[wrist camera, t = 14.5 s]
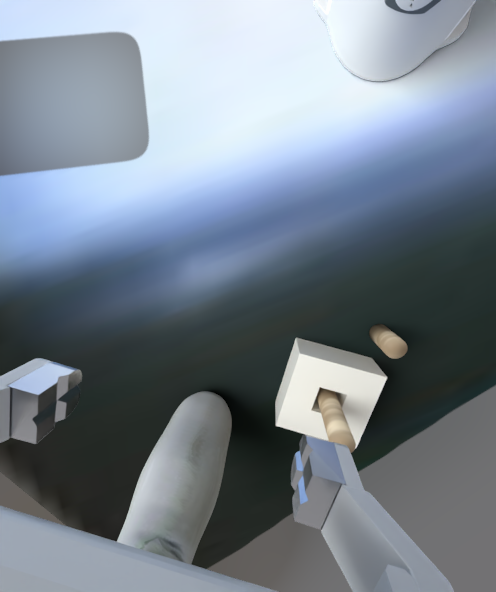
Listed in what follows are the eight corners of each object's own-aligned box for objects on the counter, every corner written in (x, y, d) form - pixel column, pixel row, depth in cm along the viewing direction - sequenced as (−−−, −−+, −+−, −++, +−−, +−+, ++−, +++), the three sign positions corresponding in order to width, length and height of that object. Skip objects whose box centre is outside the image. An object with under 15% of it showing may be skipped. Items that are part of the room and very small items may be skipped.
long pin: (315, 371, 44) (334, 431, 30) (332, 375, 44) (359, 438, 30) (310, 385, 45) (326, 451, 31) (327, 390, 45) (350, 458, 31)
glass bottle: (231, 433, 49) (178, 682, 21) (179, 420, 49) (64, 649, 22) (241, 388, 46) (195, 607, 19) (186, 375, 47) (66, 571, 20)
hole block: (296, 337, 43) (299, 353, 37) (371, 357, 42) (387, 377, 37) (275, 401, 46) (275, 425, 40) (345, 421, 46) (356, 448, 40)
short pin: (373, 322, 41) (389, 336, 35) (391, 326, 41) (410, 342, 35) (366, 338, 42) (381, 355, 36) (384, 343, 42) (402, 361, 36)
